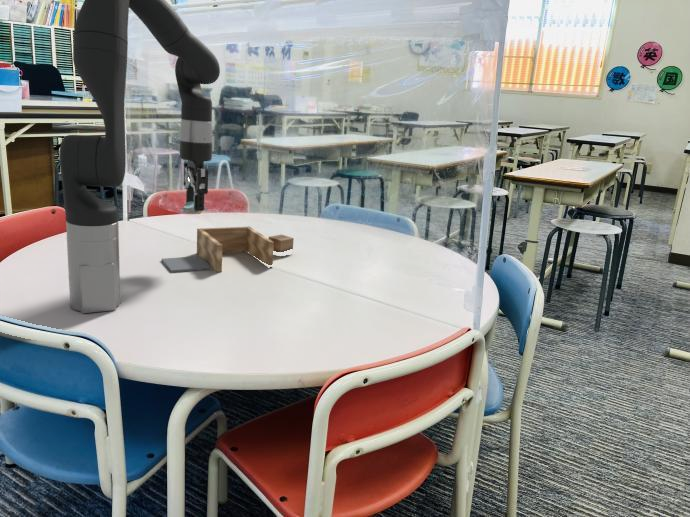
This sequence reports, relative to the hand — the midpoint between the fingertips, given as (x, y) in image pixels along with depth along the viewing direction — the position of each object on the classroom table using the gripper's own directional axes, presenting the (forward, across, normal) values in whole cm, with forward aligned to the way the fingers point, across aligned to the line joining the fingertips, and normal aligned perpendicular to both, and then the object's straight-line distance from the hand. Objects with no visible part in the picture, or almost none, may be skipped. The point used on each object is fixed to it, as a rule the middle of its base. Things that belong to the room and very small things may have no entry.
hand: (194, 207), depth 135 cm
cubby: (+15, +3, -12) cm, 19 cm away
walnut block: (+15, +6, -26) cm, 31 cm away
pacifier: (+2, 0, +1) cm, 2 cm away
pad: (+15, +2, +1) cm, 15 cm away
